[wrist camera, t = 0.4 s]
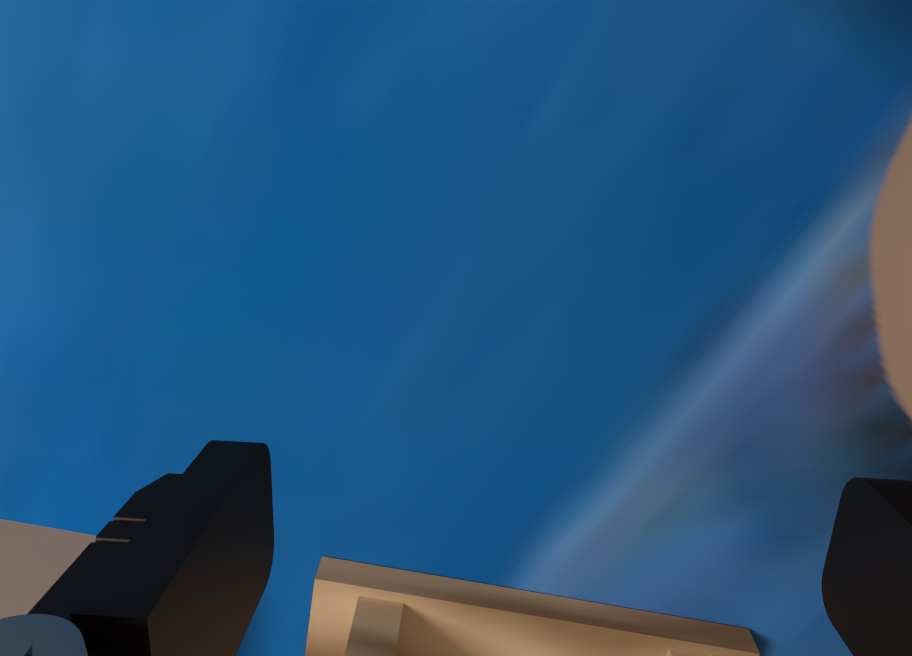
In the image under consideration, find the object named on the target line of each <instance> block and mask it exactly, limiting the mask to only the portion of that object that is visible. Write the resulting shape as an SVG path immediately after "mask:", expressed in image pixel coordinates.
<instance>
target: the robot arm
mask: <svg viewBox="0 0 912 656" xmlns="http://www.w3.org/2000/svg"><path fill="white" fill-rule="evenodd" d="M273 551H274V527H273V504H272V481H271V460H270V452H269V449H268V446H267V445H266V444H265V443H253V442H235V441H217V440H212V441H210V442H209V443H208V444H207V445H206V446H205V447H204V448H203V450H202V451H201V452H200V453H199V455H198V456H197V457H196V458H195V460H194V461H193V462H192V463H191V464H190V466H189V467H188V468H187V469H186V471H185V472H184V473H183V474H172V473H168V474H166V475H164V476H163V477H161V478H159V479H157V480H156V481H154V482H152V483H151V484H149V485H147V486H145V487H144V488H142V489H140V490H139V491H137V492H135V493H134V494H133V495H132V497H131V498H130V499H129V500H128V501H127V502H126V503H125V504H124V506H123V507H122V508H121V509H120V510H119V511H118V512H117V513H116V515H115V516H114V520H113V521H109V522H108V524H107V525H106V526H105V527H104V528H103V529H102V530H101V531H100V533H99V534H98V535H97V536H96V540H95V542H91V543H90V544H89V545H88V546H87V547H86V548H85V549H84V551H83V552H82V553H81V554H80V555H79V556H78V557H77V558H76V560H75V561H74V562H73V563H72V564H71V565H70V566H69V567H68V569H67V570H66V571H65V572H64V573H63V574H62V575H61V576H60V578H59V579H58V580H57V581H56V582H55V583H54V584H53V585H52V587H51V588H50V589H49V590H48V591H47V592H46V593H45V594H44V596H43V597H42V598H41V599H40V600H39V601H38V602H37V603H36V605H35V606H34V607H33V608H32V609H31V610H30V611H29V612H28V613H27V614H25V615H17V616H11V617H6V618H2V619H0V656H235V655H236V652H237V650H238V648H239V646H240V644H241V641H242V639H243V637H244V635H245V632H246V630H247V628H248V626H249V623H250V621H251V619H252V617H253V614H254V612H255V610H256V608H257V606H258V603H259V601H260V599H261V597H262V594H263V592H264V590H265V588H266V585H267V582H268V579H269V575H270V571H271V566H272V560H273ZM822 596H823V601H824V605H825V609H826V612H827V615H828V617H829V619H830V621H831V623H832V624H833V626H834V627H835V629H836V630H837V632H838V633H839V635H840V636H841V638H842V639H843V641H844V642H845V644H846V645H847V647H848V648H849V650H850V651H851V653H852V654H853V656H912V481H910V480H893V479H875V478H853V479H851V480H850V481H849V482H847V484H846V485H845V487H844V489H843V491H842V495H841V498H840V503H839V507H838V511H837V515H836V519H835V523H834V528H833V532H832V536H831V540H830V544H829V549H828V553H827V557H826V561H825V565H824V569H823V575H822Z"/></svg>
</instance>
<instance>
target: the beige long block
mask: <svg viewBox="0 0 912 656" xmlns="http://www.w3.org/2000/svg"><path fill="white" fill-rule="evenodd" d="M95 540H96V536H95V535H89V534H83V533H78V532H72V531H66V530H60V529H55V528H49V527H43V526H37V525H31V524H26V523H20V522H14V521H8V520H3V519H0V619H2V618H6V617H11V616H17V615H25V614H27V613H28V612H29V611H30V610H31V609H32V608H33V607H34V606H35V605H36V603H37V602H38V601H39V600H40V599H41V598H42V597H43V596H44V594H45V593H46V592H47V591H48V590H49V589H50V588H51V587H52V585H53V584H54V583H55V582H56V581H57V580H58V579H59V578H60V576H61V575H62V574H63V573H64V572H65V571H66V570H67V569H68V567H69V566H70V565H71V564H72V563H73V562H74V561H75V560H76V558H77V557H78V556H79V555H80V554H81V553H82V552H83V551H84V549H85V548H86V547H87V546H88V545H89V544H90V543H91V542H95Z"/></svg>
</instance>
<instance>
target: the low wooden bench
mask: <svg viewBox="0 0 912 656" xmlns="http://www.w3.org/2000/svg"><path fill="white" fill-rule="evenodd" d="M305 656H760V653H759V650H758V648H757V646H756V644H755V642H754V640H753V637H752V635H751V633H750V631H749V629H748V628H742V627H736V626H730V625H724V624H718V623H712V622H706V621H701V620H695V619H689V618H683V617H677V616H671V615H665V614H659V613H654V612H648V611H642V610H636V609H630V608H624V607H618V606H612V605H606V604H601V603H595V602H589V601H583V600H577V599H571V598H565V597H559V596H553V595H548V594H542V593H536V592H530V591H524V590H518V589H512V588H506V587H501V586H495V585H489V584H483V583H477V582H471V581H465V580H459V579H453V578H448V577H442V576H436V575H430V574H424V573H418V572H412V571H406V570H401V569H395V568H389V567H383V566H377V565H371V564H365V563H359V562H353V561H348V560H342V559H336V558H330V557H324V556H322V559H321V562H320V565H319V568H318V571H317V574H316V577H315V582H314V590H313V598H312V605H311V613H310V621H309V629H308V637H307V644H306V652H305Z"/></svg>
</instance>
